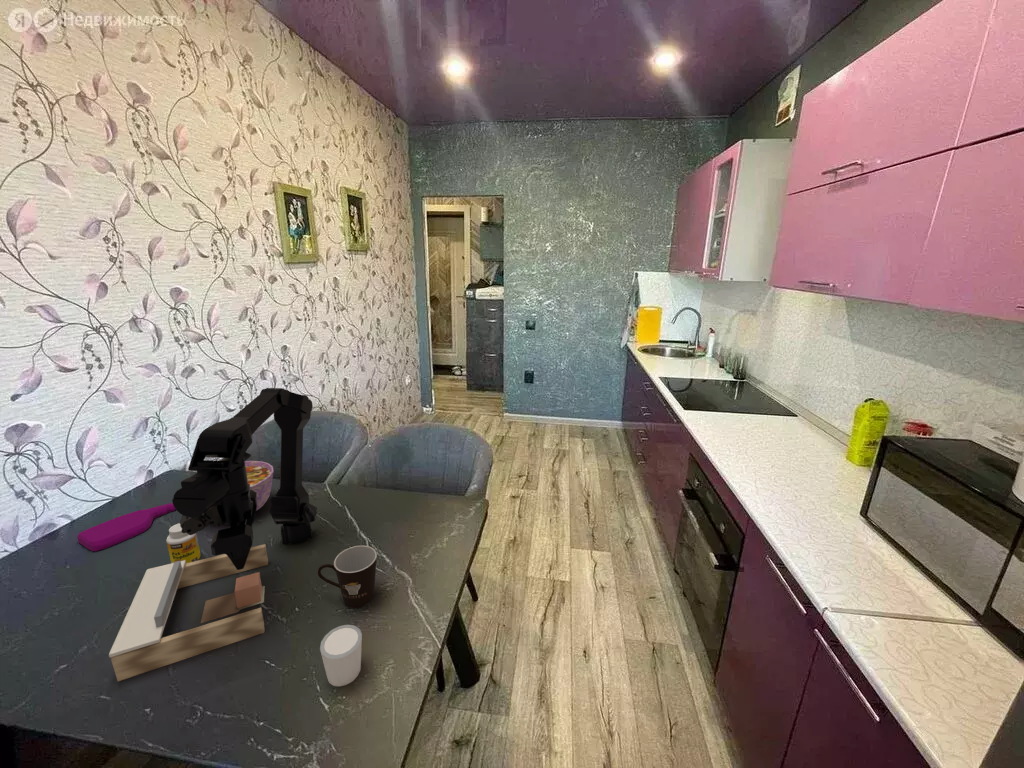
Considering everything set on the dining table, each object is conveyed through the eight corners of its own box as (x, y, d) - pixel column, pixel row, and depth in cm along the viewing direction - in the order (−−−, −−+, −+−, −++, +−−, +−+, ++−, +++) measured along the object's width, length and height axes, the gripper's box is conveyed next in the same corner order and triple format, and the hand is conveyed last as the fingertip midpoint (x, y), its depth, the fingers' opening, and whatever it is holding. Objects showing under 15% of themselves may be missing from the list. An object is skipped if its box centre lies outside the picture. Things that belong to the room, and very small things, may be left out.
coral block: (261, 587, 90) (259, 572, 89) (261, 601, 86) (258, 584, 85) (239, 594, 88) (236, 578, 87) (237, 608, 84) (234, 591, 83)
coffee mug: (387, 588, 92) (384, 551, 89) (362, 617, 84) (358, 577, 81) (345, 575, 96) (342, 538, 93) (317, 601, 88) (313, 562, 85)
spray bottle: (75, 542, 104) (184, 498, 126) (95, 556, 100) (205, 508, 121) (73, 532, 103) (183, 490, 125) (93, 545, 99) (203, 499, 120)
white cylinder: (331, 654, 76) (327, 624, 74) (368, 652, 76) (366, 623, 75) (317, 691, 69) (313, 659, 67) (358, 688, 70) (355, 657, 68)
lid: (185, 562, 89) (183, 551, 89) (159, 642, 70) (156, 629, 70) (147, 571, 86) (144, 560, 85) (109, 657, 67) (105, 644, 67)
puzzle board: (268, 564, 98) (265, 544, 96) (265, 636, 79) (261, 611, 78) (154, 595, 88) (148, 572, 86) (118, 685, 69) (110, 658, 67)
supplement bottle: (171, 575, 94) (162, 537, 91) (173, 560, 98) (165, 524, 96) (200, 566, 97) (193, 529, 94) (202, 553, 101) (195, 517, 99)
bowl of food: (178, 526, 111) (169, 488, 108) (239, 490, 130) (234, 457, 127) (238, 538, 107) (232, 499, 104) (293, 499, 126) (289, 465, 123)
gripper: (189, 475, 84) (202, 540, 88) (167, 523, 68) (184, 599, 72) (252, 465, 89) (261, 526, 93) (245, 507, 73) (257, 579, 78)
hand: (242, 555), depth 84 cm, fingers open, 9 cm apart
